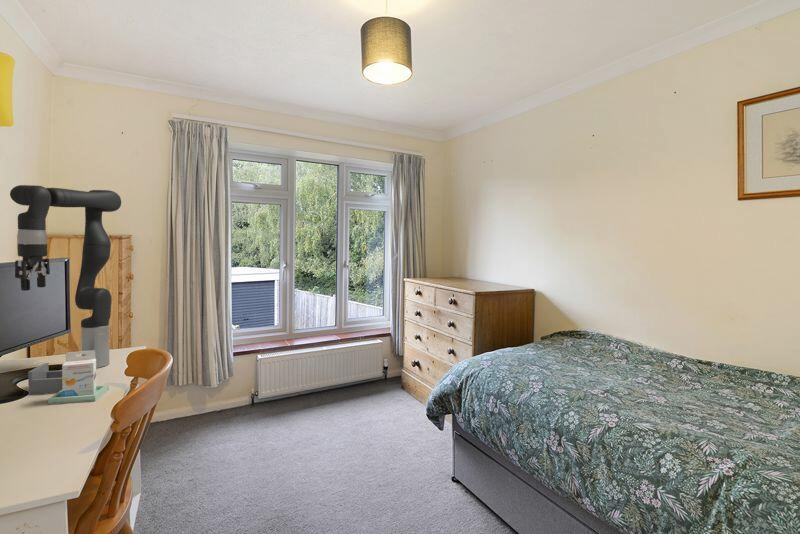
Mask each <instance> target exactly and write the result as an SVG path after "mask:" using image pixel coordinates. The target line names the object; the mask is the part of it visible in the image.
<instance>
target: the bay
mask: <svg viewBox="0 0 800 534" xmlns="http://www.w3.org/2000/svg"><path fill="white" fill-rule="evenodd" d="M27 377H28V384H27V385H28V395H40V394H41V395H43V394H57V393H58V392H60V391H61V390H62V370H61V369H60V370H59V369H58V370H49V362H44V363H43V364H40V365H38V366H37V367H34V368H33V369H32V370H29V371H27Z"/></svg>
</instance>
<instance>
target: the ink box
mask: <svg viewBox="0 0 800 534" xmlns="http://www.w3.org/2000/svg"><path fill="white" fill-rule="evenodd" d="M82 354H86V356H82ZM78 355H79V356H78ZM61 369H62V397H70V396H85V395H94V394H95V392H96V386H97V368H96V359H95V350H91V351H81V350H80V351H79V350H78V351H70V352H69V351H68V352H66V353H65V362H64V363H63V364H62V365H61Z"/></svg>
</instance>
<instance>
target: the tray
mask: <svg viewBox="0 0 800 534" xmlns="http://www.w3.org/2000/svg"><path fill="white" fill-rule="evenodd" d="M109 390H110V385H109V384H101V385H98V384H97V385H96V392H95V394H94V395H85V396H70V397H62V390H61V391H60V392H58V393H54V395H52V396H50V397H49V398H48V399H47V400H48V401H47V403H48V405H57V404H59V405H60V404H73V403H74V404H75V403H87V402H88V403H89V402H96V401H97V400H99V398H101V397H102V396H104V394H105V393H107V392H108V391H109Z"/></svg>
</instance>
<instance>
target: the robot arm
mask: <svg viewBox="0 0 800 534" xmlns="http://www.w3.org/2000/svg"><path fill="white" fill-rule="evenodd" d="M9 196H10V198H11V200H12V201H13V202H14V203H16V204H18V205H20V206H24V207H25V206H27V207H28V208H27V211H25V212H24V211H23V212H21V213H19V214H18V215H17V233H16V242H17V243H16V245H17V246H16V247H17V256H18V257H22V260H20V259H19V260H16V259H15V263H14V278H15V279H19V280H20V289H21V291H23V292H24V291H25V292H26V291H28V292H29V291H30V290H31V276H32V275H34V274H35V275H36V286H37V288H45V287H46V286H47V284H46V280H47V279H46V277H47V275H50V273H51V269H50V259H49V258H46V257H47V256H48V235H47V227H46V226H47V225H46V222H47V221H46V219H47V216H48V213H49V209H50V207H53V208H84V214H85V215H84V216H85V218H84V219H85V220H84V221H85V222H84V235H83V243H82V252H81V253H82V254H81V264H80V271H79V277H78V281H77V286H76V292H75V295H74V304H75V306H76V307H77V308H78V309H79V310H88V311H89V310H90V311H92V313H91V316H89V317H86V318H83V319H81V321H80V344H81V345H80V346H81V347H80V351H91V350H95V359H96V369H97V368H103V367H106V366H108V365H110V320H111V313H112V295H111V292H110V290H109V289H107V288H103V287H95V284H96V283H95V282H96V279H97V276H98V274H99V273H100V272H101V270H102V269H103V268H104V267H105V265H106V264H107V263H108V261H109V260H110V256H111V250H112V249H111V248H112V247H111V245H112V244H111V243H112V242H111V240H110V237H109V235H108V233H107V231H106V230H105V228H104V225H103V221H102V220H103V213H104V212H105V213H107V212H108V213H112V212H116V211H118V210H119V209H120V208H121V206H122V198H121V196H120V195H119V194H118V193H117V192H116V191H114V190H110V189H91V190H89V191H84V190H77V189H70V188H59V187H45V186H42V185H34V184H33V185H31V184H29V185H28V184H22V185H21V184H19V185H16V186H14V187H12V188H11V190H10V192H9ZM81 356H86V354H81Z"/></svg>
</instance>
